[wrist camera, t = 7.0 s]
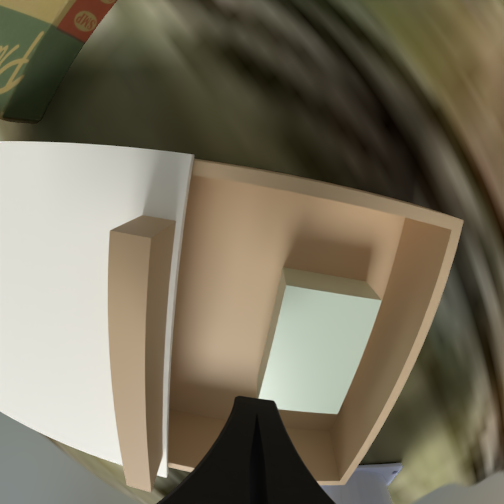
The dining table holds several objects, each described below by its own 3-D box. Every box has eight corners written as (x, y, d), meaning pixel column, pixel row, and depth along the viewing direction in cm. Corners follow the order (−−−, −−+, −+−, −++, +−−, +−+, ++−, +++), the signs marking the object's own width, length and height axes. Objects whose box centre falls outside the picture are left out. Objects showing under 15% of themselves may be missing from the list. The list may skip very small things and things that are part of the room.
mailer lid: (168, 472, 14) (157, 511, 12) (-2, 405, 14) (-24, 429, 12) (194, 154, 10) (169, 151, 7) (-37, 142, 10) (-79, 145, 7)
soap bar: (330, 386, 18) (337, 413, 16) (257, 378, 18) (256, 406, 16) (366, 281, 16) (381, 300, 14) (282, 266, 16) (286, 285, 14)
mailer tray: (332, 431, 20) (344, 484, 15) (161, 406, 20) (141, 459, 15) (412, 203, 15) (463, 220, 11) (184, 157, 15) (150, 154, 10)
